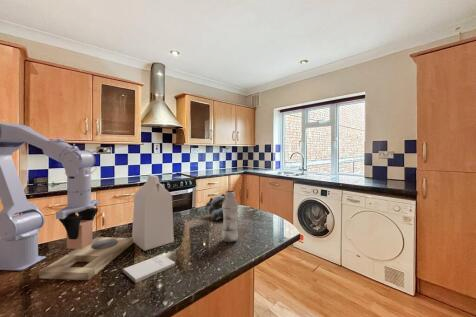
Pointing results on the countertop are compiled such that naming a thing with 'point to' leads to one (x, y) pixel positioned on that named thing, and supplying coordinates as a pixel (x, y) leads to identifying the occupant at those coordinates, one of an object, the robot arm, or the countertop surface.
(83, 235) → the terracotta block
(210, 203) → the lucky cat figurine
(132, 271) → the external hard drive
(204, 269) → the countertop surface
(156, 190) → the milk
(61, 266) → the pocket board
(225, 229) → the plastic bottle
